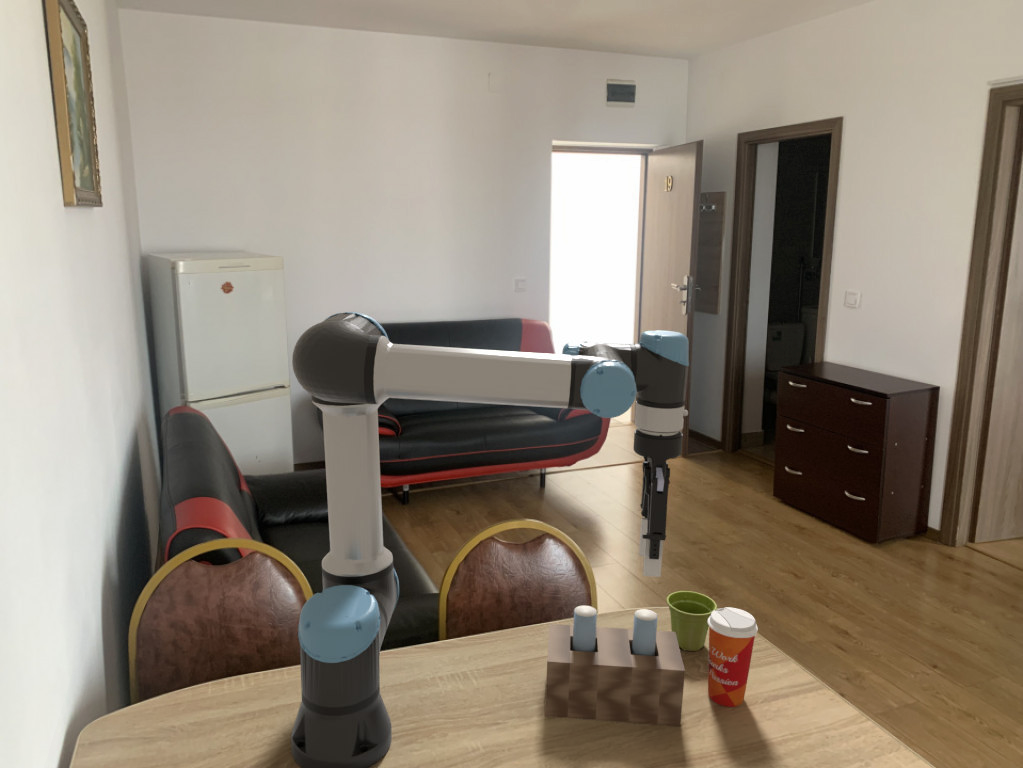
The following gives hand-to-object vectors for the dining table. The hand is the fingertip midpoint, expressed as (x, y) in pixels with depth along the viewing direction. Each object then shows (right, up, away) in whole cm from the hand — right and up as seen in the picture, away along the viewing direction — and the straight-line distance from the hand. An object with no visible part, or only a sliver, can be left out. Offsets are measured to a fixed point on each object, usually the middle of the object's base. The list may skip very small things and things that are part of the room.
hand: (649, 564), depth 127 cm
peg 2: (0, -19, +4) cm, 19 cm away
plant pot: (+12, -21, +24) cm, 34 cm away
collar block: (-6, -24, +6) cm, 26 cm away
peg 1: (-10, -18, +5) cm, 21 cm away
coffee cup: (+15, -25, +7) cm, 29 cm away
